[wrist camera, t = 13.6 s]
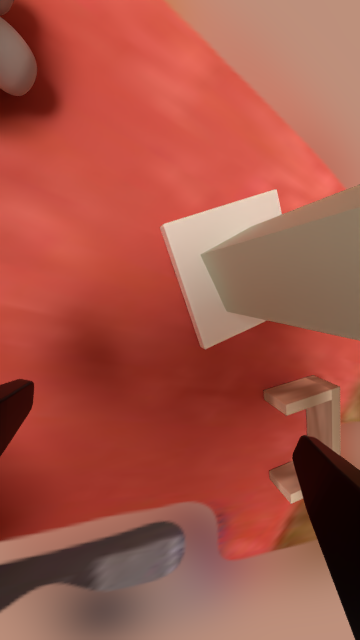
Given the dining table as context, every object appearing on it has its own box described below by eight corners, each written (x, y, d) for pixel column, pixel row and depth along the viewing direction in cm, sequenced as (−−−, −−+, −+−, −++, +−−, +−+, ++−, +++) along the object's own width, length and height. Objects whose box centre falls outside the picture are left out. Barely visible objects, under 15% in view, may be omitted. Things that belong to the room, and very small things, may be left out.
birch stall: (269, 478, 25) (291, 503, 22) (263, 390, 23) (286, 404, 20) (315, 459, 27) (340, 480, 24) (312, 375, 25) (340, 386, 22)
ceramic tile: (200, 346, 20) (205, 349, 20) (159, 227, 18) (163, 224, 17) (293, 303, 23) (301, 304, 22) (268, 193, 20) (276, 189, 19)
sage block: (226, 311, 20) (482, 367, 6) (200, 254, 18) (456, 177, 5) (273, 282, 21) (579, 278, 7) (251, 226, 19) (578, 99, 6)
